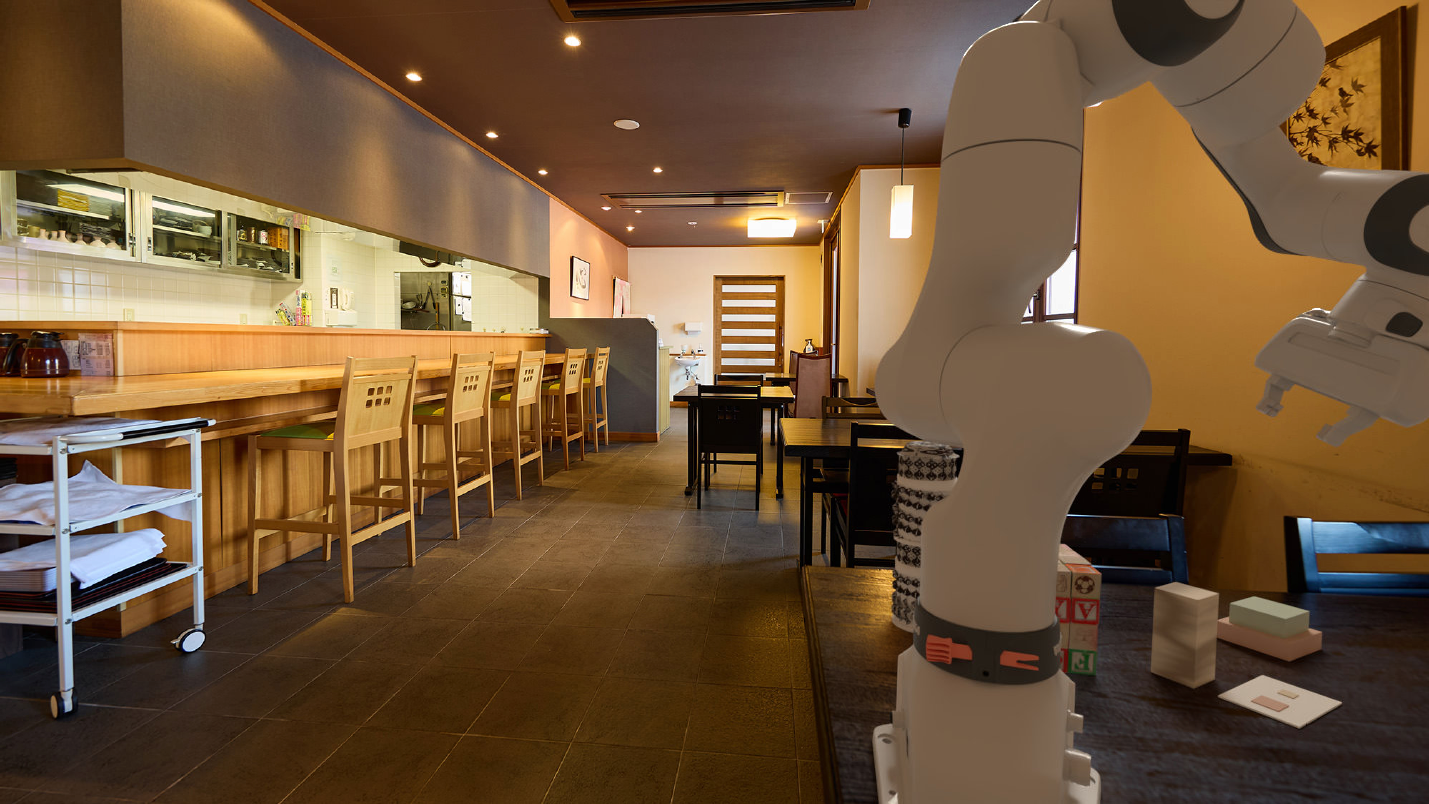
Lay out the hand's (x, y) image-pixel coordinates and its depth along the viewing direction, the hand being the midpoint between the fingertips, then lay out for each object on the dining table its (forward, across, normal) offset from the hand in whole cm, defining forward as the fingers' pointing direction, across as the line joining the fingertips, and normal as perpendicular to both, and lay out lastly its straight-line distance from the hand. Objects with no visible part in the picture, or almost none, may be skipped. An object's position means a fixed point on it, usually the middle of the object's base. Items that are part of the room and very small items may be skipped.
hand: (1293, 427), depth 78 cm
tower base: (+25, +1, +16) cm, 30 cm away
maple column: (+30, +11, 0) cm, 32 cm away
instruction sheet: (+26, +16, +5) cm, 31 cm away
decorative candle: (+45, -2, -22) cm, 50 cm away
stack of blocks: (+38, +1, -9) cm, 39 cm away
